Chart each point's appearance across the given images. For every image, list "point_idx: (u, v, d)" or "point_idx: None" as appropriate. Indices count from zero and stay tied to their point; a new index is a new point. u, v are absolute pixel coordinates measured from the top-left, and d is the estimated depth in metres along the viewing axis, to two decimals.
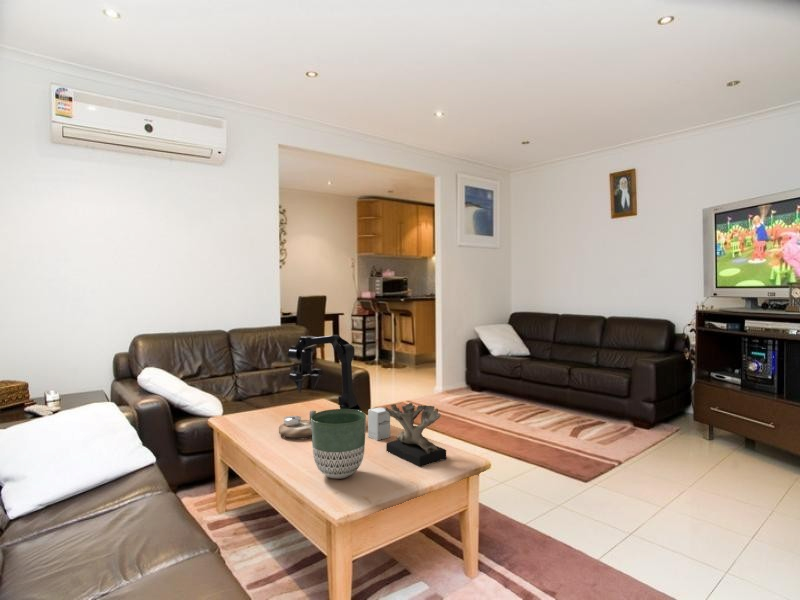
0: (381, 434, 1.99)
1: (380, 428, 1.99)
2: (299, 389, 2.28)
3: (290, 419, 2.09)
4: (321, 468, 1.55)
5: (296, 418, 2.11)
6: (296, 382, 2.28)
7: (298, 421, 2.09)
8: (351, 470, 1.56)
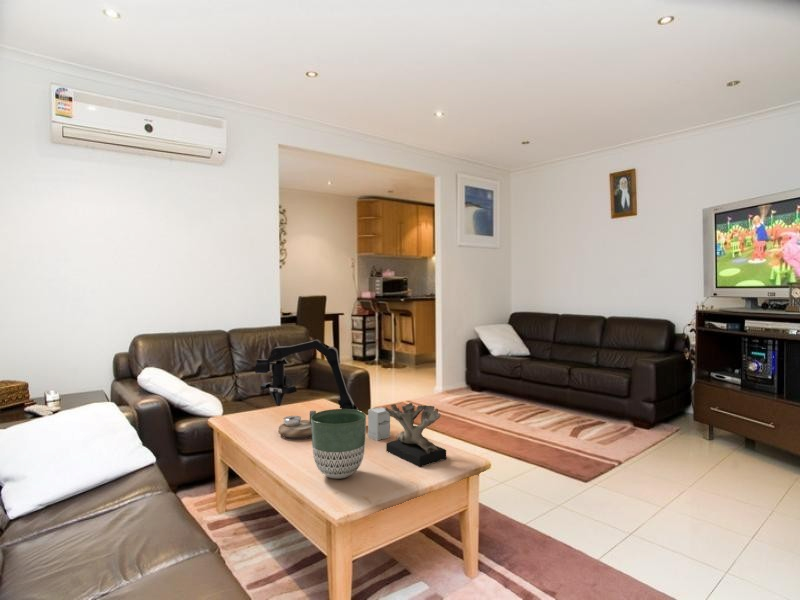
0: (381, 434, 1.99)
1: (380, 428, 1.99)
2: None
3: (290, 419, 2.09)
4: (321, 468, 1.55)
5: (296, 418, 2.11)
6: None
7: (298, 421, 2.09)
8: (351, 470, 1.56)
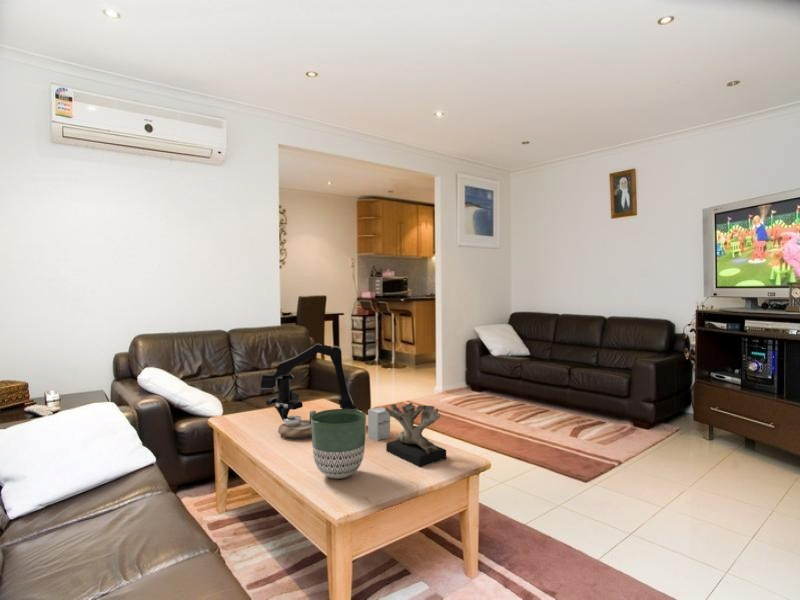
0: (381, 434, 1.99)
1: (380, 428, 1.99)
2: None
3: (290, 419, 2.09)
4: (321, 468, 1.55)
5: (296, 418, 2.11)
6: None
7: (298, 421, 2.09)
8: (351, 470, 1.56)
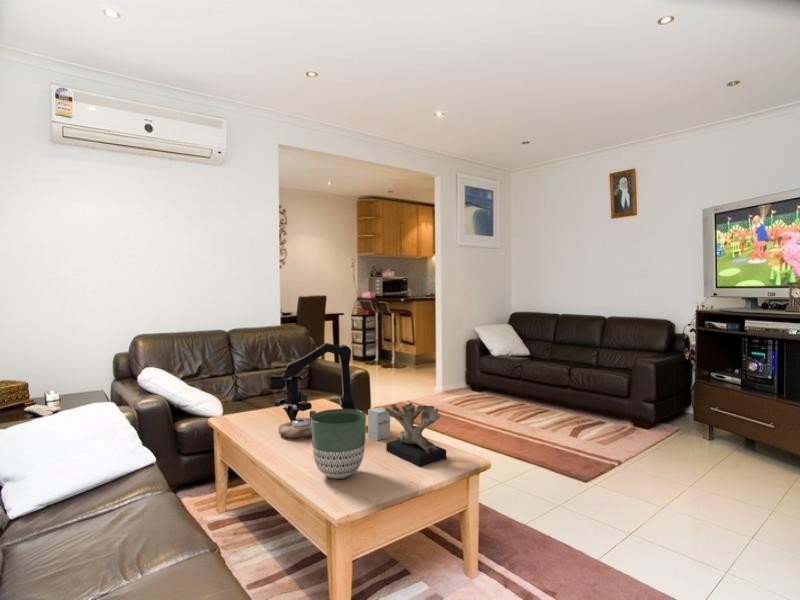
0: (381, 434, 1.99)
1: (380, 428, 1.99)
2: None
3: (299, 421, 2.06)
4: (321, 468, 1.55)
5: (305, 420, 2.07)
6: None
7: (307, 423, 2.06)
8: (351, 470, 1.56)
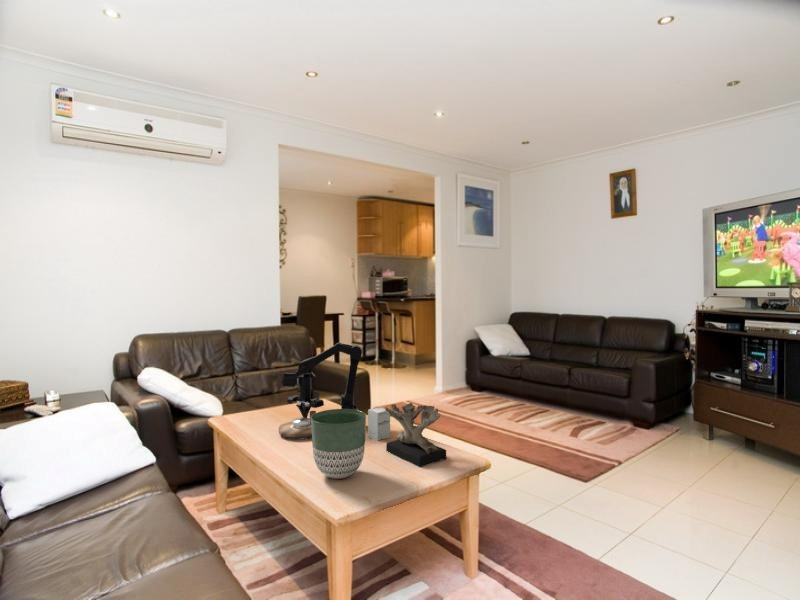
0: (381, 434, 1.99)
1: (380, 428, 1.99)
2: None
3: (299, 421, 2.06)
4: (321, 468, 1.55)
5: (305, 420, 2.07)
6: None
7: (307, 423, 2.06)
8: (351, 470, 1.56)
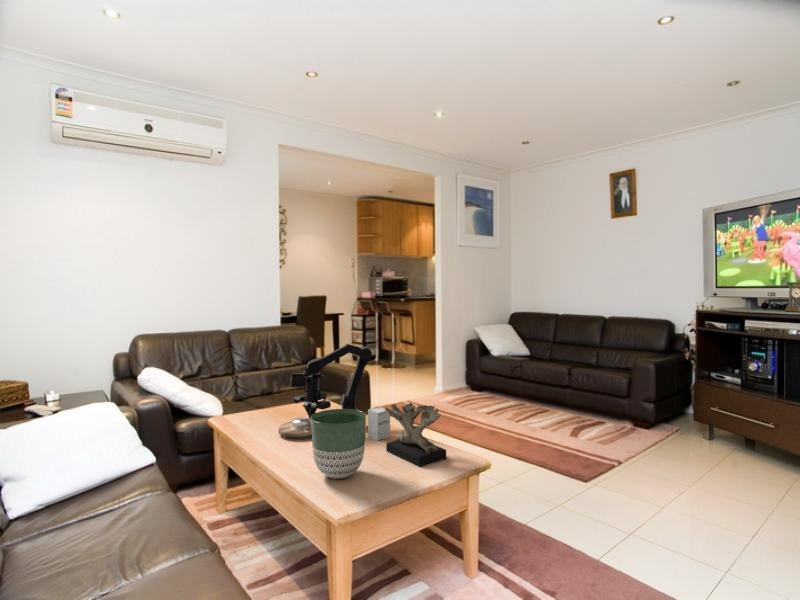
0: (381, 434, 1.99)
1: (380, 428, 1.99)
2: None
3: (296, 421, 2.06)
4: (321, 468, 1.55)
5: (303, 421, 2.06)
6: None
7: (303, 424, 2.05)
8: (351, 470, 1.56)
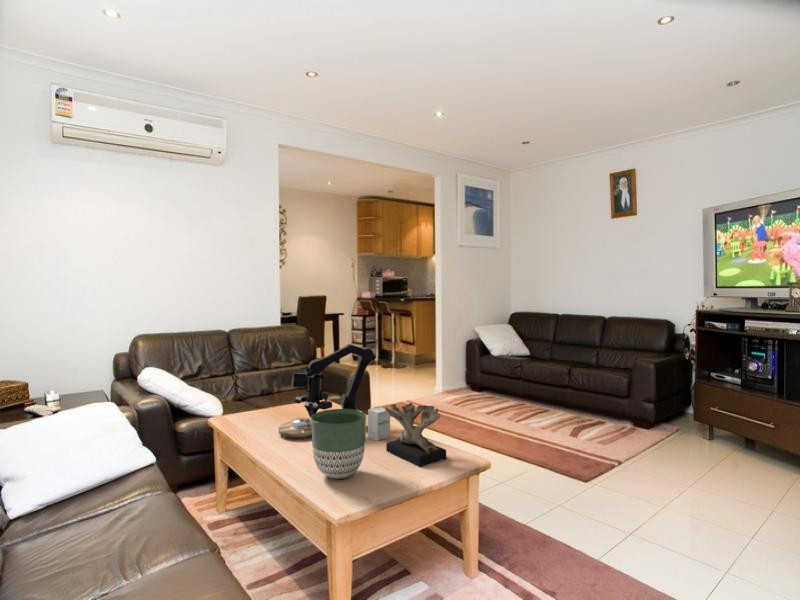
0: (381, 434, 1.99)
1: (380, 428, 1.99)
2: None
3: (295, 421, 2.07)
4: (321, 468, 1.55)
5: (302, 421, 2.06)
6: None
7: (301, 424, 2.04)
8: (351, 470, 1.56)
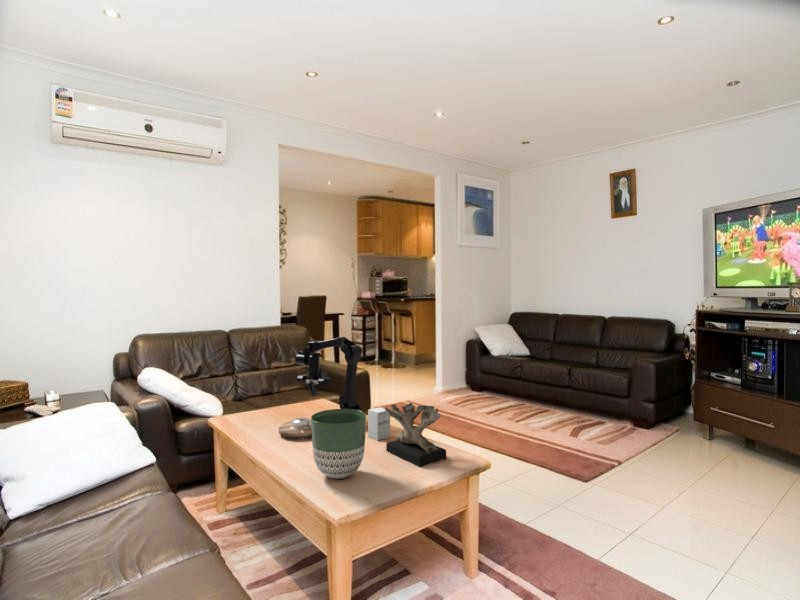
0: (381, 434, 1.99)
1: (380, 428, 1.99)
2: None
3: (295, 421, 2.07)
4: (321, 468, 1.55)
5: (301, 421, 2.06)
6: None
7: (301, 424, 2.04)
8: (351, 470, 1.56)
